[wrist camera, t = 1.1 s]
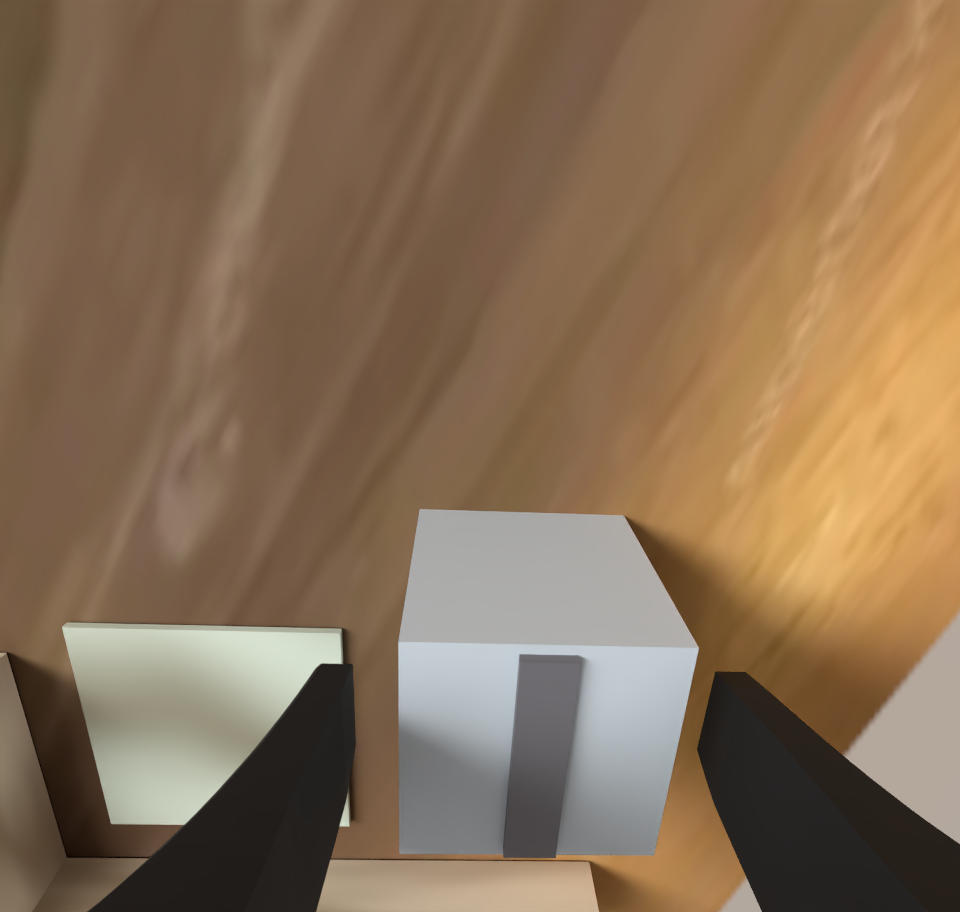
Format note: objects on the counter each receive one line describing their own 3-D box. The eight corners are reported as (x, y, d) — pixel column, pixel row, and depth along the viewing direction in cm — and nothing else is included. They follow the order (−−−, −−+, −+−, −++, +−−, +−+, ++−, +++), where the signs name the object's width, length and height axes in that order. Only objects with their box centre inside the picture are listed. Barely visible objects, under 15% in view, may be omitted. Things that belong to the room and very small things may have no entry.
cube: (598, 676, 16) (657, 865, 11) (418, 673, 16) (398, 864, 11) (623, 514, 14) (703, 656, 10) (420, 507, 14) (397, 650, 9)
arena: (583, 893, 19) (604, 1005, 16) (28, 890, 19) (-51, 1007, 16) (625, 635, 16) (660, 722, 13) (-65, 619, 15) (-187, 708, 12)
